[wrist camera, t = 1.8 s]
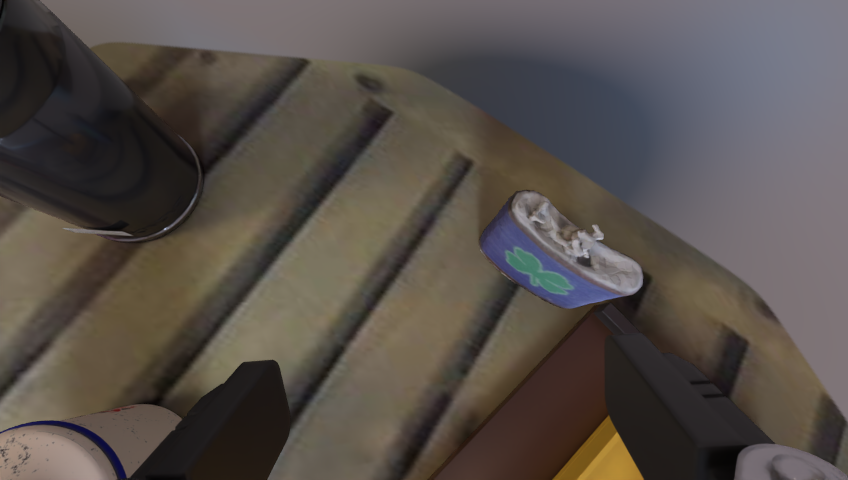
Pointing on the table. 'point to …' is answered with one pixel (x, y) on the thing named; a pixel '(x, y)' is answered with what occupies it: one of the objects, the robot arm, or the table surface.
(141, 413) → the teacup with lid
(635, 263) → the flask
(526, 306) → the table surface
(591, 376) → the track
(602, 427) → the tray
